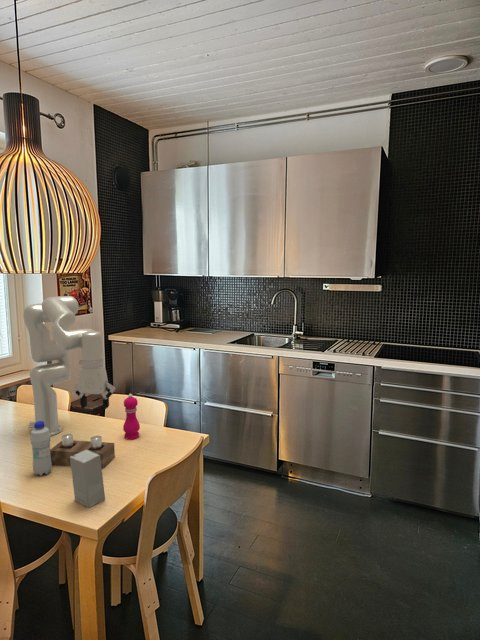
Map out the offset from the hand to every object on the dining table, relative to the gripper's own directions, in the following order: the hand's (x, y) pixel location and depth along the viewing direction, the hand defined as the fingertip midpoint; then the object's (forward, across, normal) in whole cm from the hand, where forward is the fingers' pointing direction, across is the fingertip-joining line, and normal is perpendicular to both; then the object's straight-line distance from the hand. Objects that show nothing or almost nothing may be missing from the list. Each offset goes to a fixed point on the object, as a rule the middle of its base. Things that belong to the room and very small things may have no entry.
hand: (95, 407), depth 162 cm
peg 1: (+18, -12, 0) cm, 22 cm away
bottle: (+22, -16, -11) cm, 30 cm away
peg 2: (+18, 0, 0) cm, 18 cm away
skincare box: (+22, +10, -26) cm, 36 cm away
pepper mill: (+22, +4, +25) cm, 34 cm away
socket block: (+22, -6, 0) cm, 23 cm away
